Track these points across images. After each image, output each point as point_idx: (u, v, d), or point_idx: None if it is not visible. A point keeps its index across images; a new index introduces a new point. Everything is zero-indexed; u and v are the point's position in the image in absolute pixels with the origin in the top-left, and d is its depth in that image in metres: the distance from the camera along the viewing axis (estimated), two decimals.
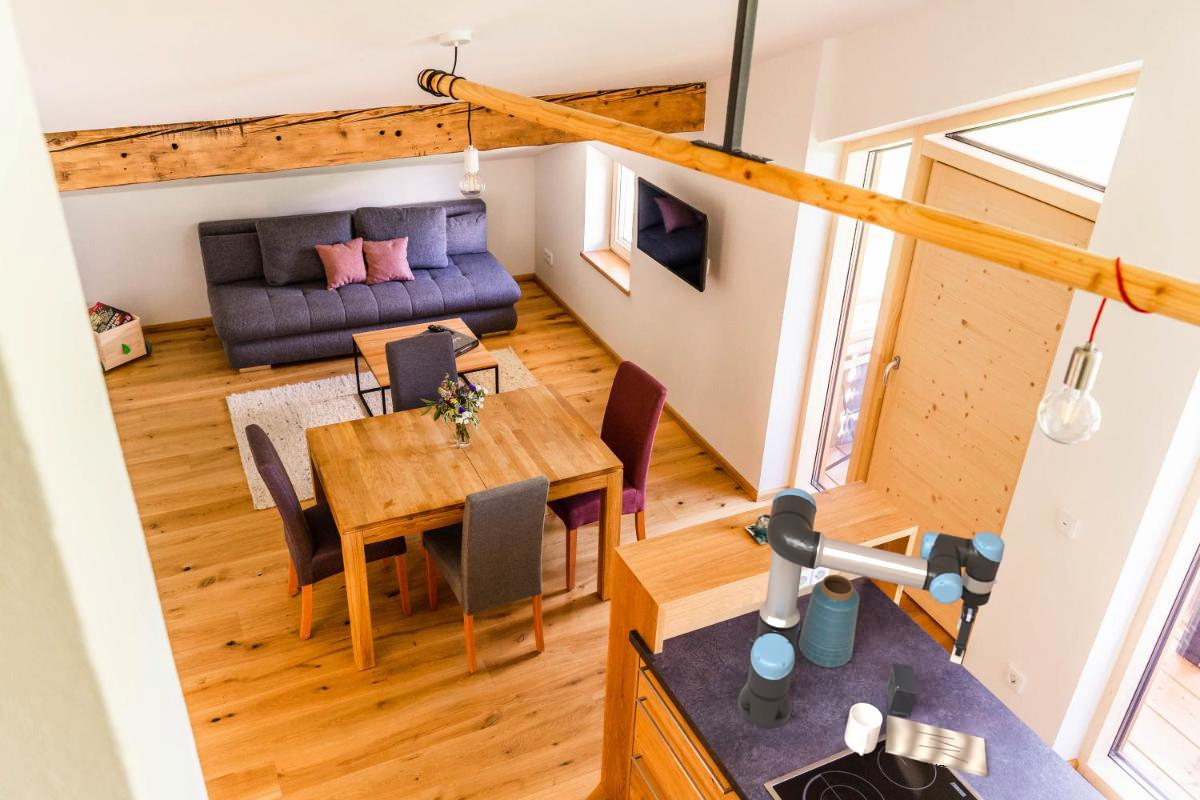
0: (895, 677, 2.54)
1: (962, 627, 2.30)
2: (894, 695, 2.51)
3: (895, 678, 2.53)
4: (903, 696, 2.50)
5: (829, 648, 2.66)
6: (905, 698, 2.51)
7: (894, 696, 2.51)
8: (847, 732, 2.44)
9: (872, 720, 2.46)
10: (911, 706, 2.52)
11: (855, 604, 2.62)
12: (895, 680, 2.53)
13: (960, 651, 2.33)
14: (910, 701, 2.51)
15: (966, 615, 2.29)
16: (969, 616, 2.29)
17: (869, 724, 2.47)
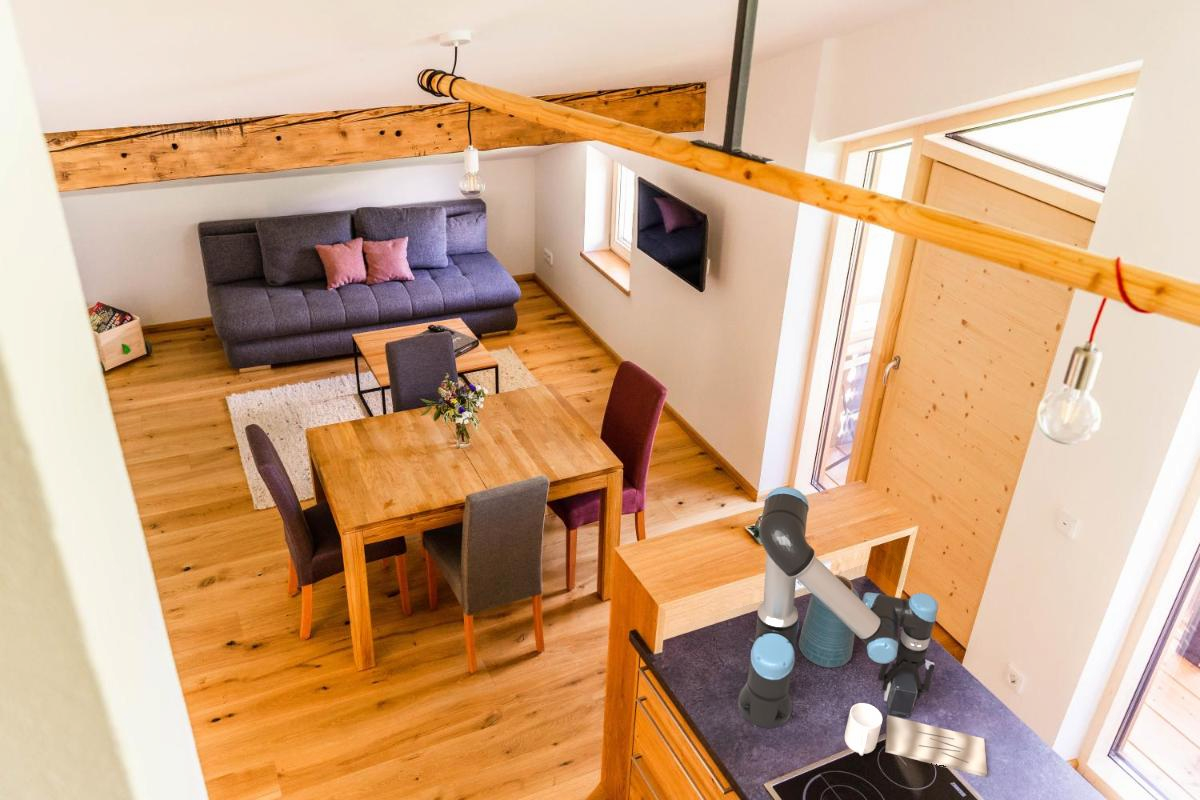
0: (895, 677, 2.54)
1: None
2: (894, 695, 2.51)
3: (895, 678, 2.53)
4: (902, 695, 2.50)
5: (829, 648, 2.66)
6: (905, 698, 2.51)
7: (894, 696, 2.51)
8: (847, 732, 2.44)
9: (872, 720, 2.46)
10: (911, 706, 2.52)
11: None
12: (895, 680, 2.53)
13: (883, 684, 2.57)
14: (910, 701, 2.51)
15: None
16: None
17: (869, 724, 2.47)
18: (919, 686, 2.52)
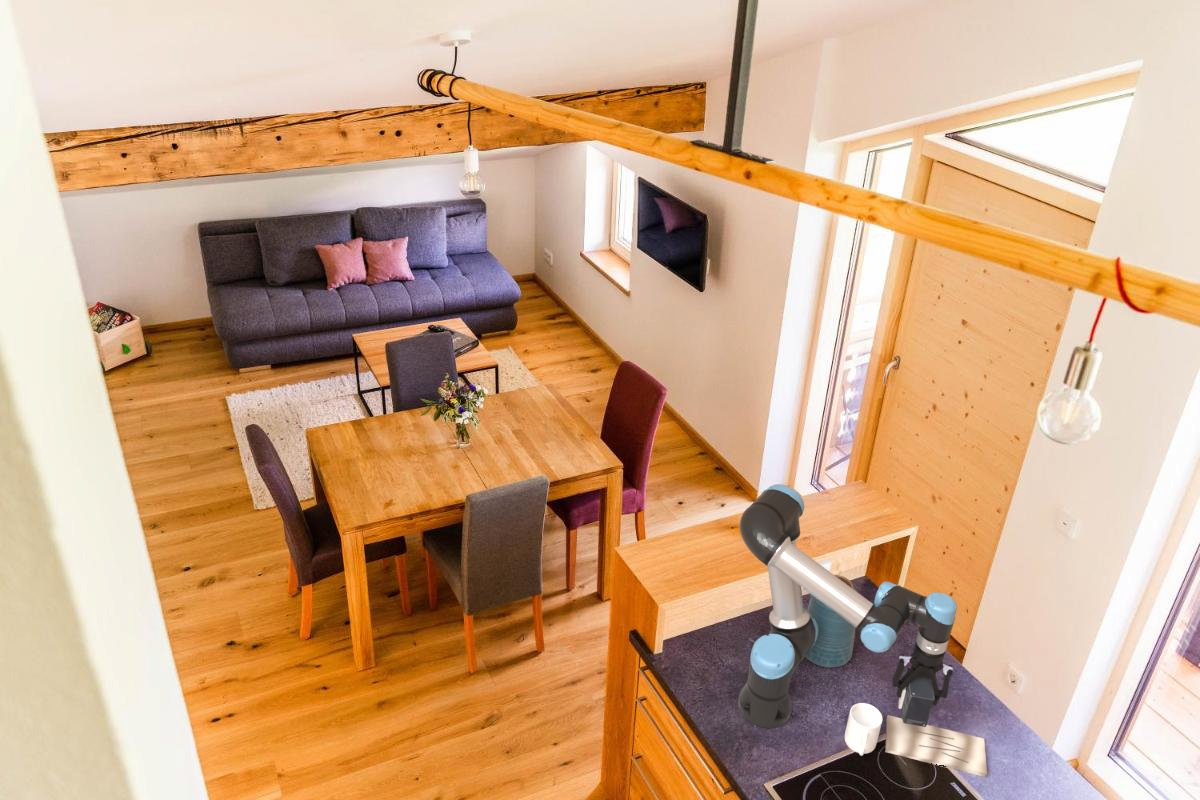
0: (910, 683, 2.37)
1: None
2: (909, 702, 2.34)
3: (910, 684, 2.36)
4: (919, 703, 2.33)
5: (829, 648, 2.66)
6: (921, 706, 2.34)
7: (909, 703, 2.34)
8: (847, 732, 2.44)
9: (872, 720, 2.46)
10: (928, 714, 2.35)
11: None
12: (910, 686, 2.36)
13: (897, 690, 2.40)
14: (927, 708, 2.34)
15: (899, 656, 2.35)
16: (899, 658, 2.35)
17: (869, 724, 2.47)
18: (936, 693, 2.35)
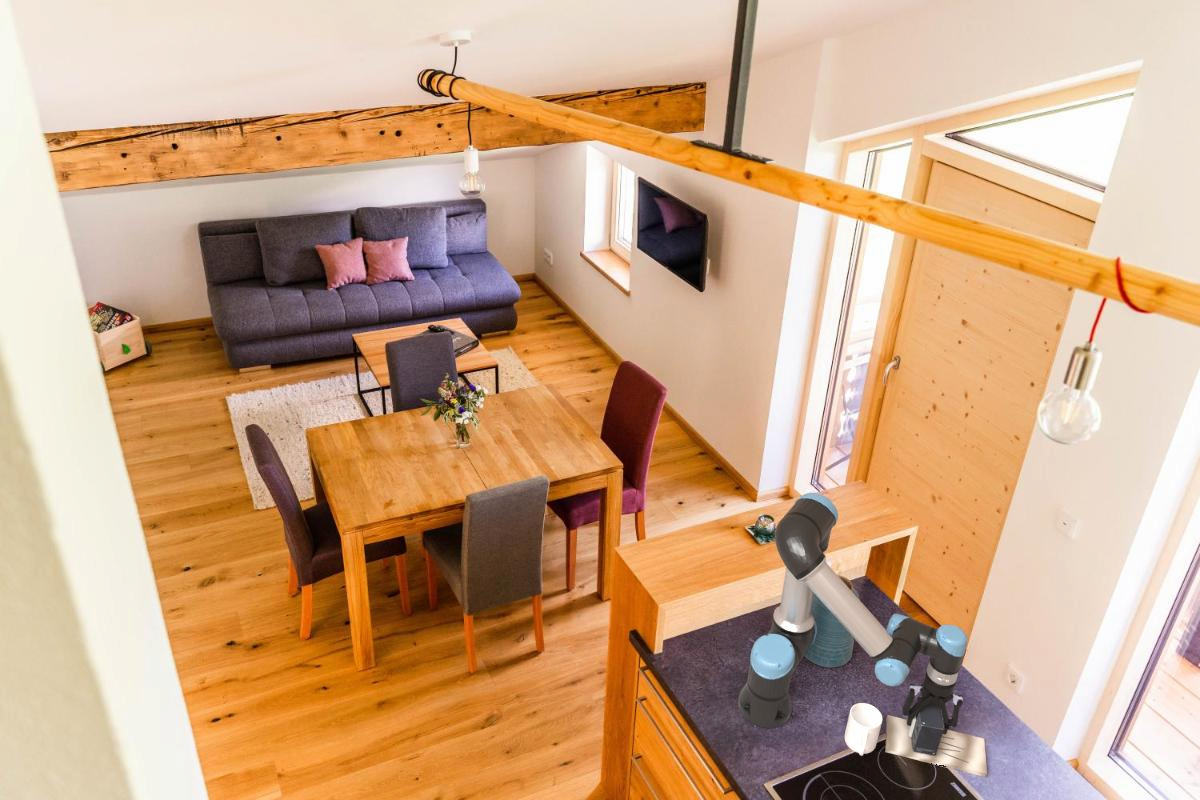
0: (920, 712, 2.40)
1: (908, 694, 2.41)
2: (920, 731, 2.38)
3: (920, 713, 2.40)
4: (929, 732, 2.37)
5: (829, 648, 2.66)
6: (931, 735, 2.37)
7: (920, 732, 2.38)
8: (847, 732, 2.44)
9: (872, 720, 2.46)
10: (938, 743, 2.38)
11: None
12: (920, 715, 2.39)
13: (907, 719, 2.43)
14: (937, 738, 2.37)
15: (910, 685, 2.39)
16: (910, 687, 2.38)
17: (869, 724, 2.47)
18: (946, 722, 2.39)
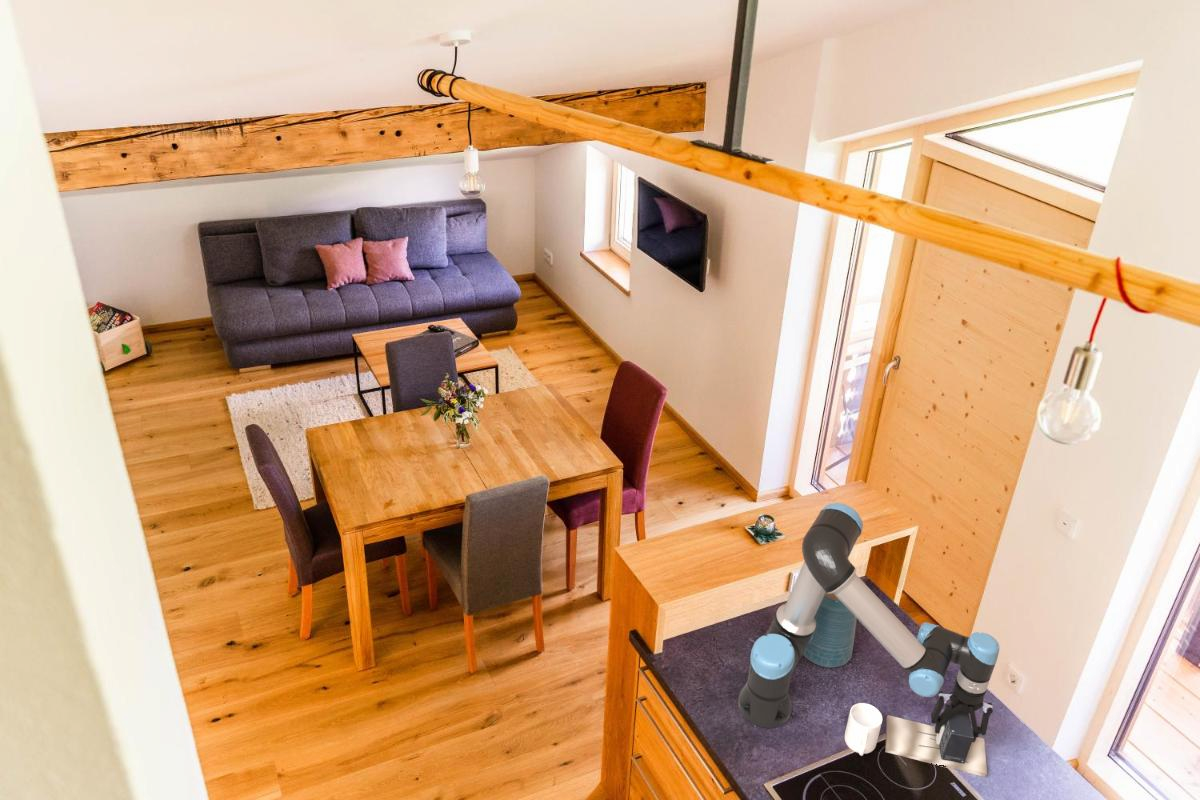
0: (949, 720, 2.39)
1: (937, 702, 2.39)
2: (949, 739, 2.36)
3: (949, 721, 2.38)
4: (958, 740, 2.35)
5: (829, 648, 2.66)
6: (960, 743, 2.36)
7: (949, 740, 2.36)
8: (847, 732, 2.44)
9: (872, 720, 2.46)
10: (967, 751, 2.37)
11: None
12: (949, 723, 2.38)
13: (936, 726, 2.42)
14: (966, 746, 2.36)
15: (939, 693, 2.37)
16: (939, 695, 2.37)
17: (869, 724, 2.47)
18: (975, 730, 2.37)
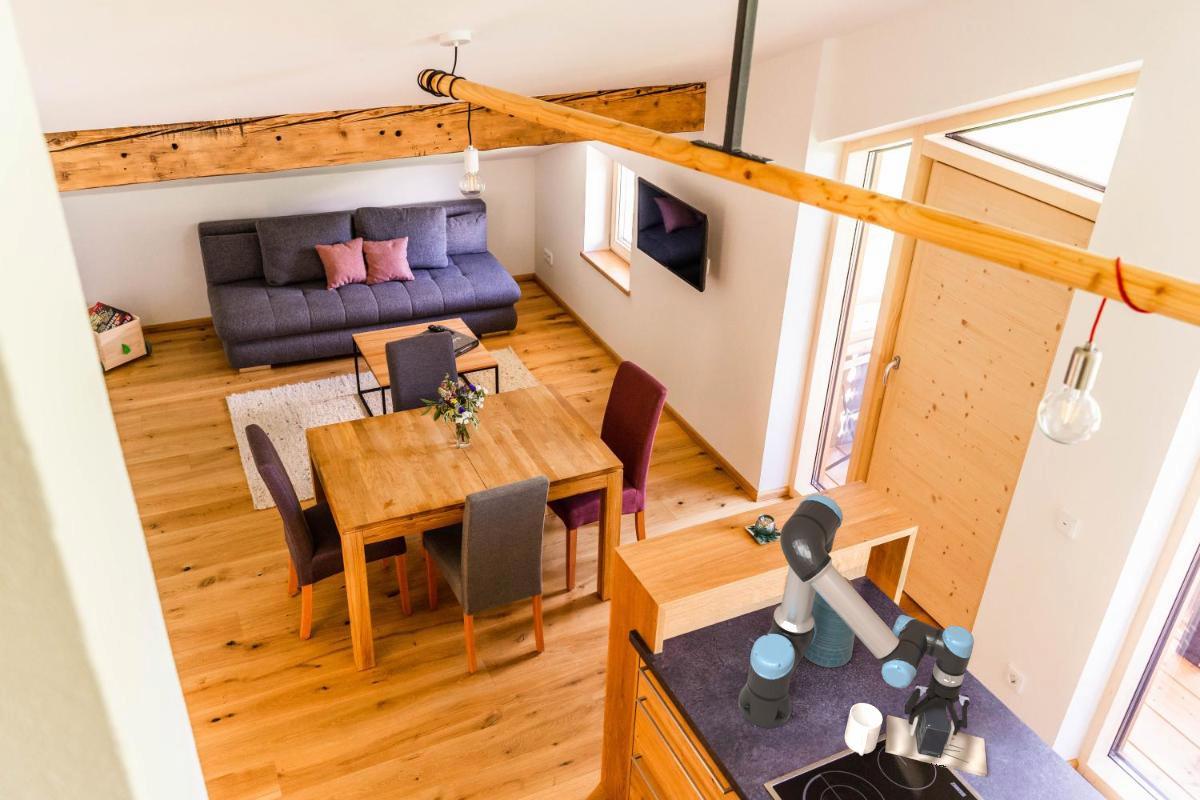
0: (926, 714, 2.40)
1: (912, 694, 2.40)
2: (925, 734, 2.38)
3: (926, 715, 2.40)
4: (934, 734, 2.37)
5: (829, 648, 2.66)
6: (936, 737, 2.37)
7: (925, 735, 2.38)
8: (847, 732, 2.44)
9: (872, 720, 2.46)
10: (943, 745, 2.38)
11: None
12: (926, 718, 2.39)
13: (909, 718, 2.43)
14: (942, 740, 2.37)
15: None
16: (915, 687, 2.38)
17: (869, 724, 2.47)
18: (956, 723, 2.38)
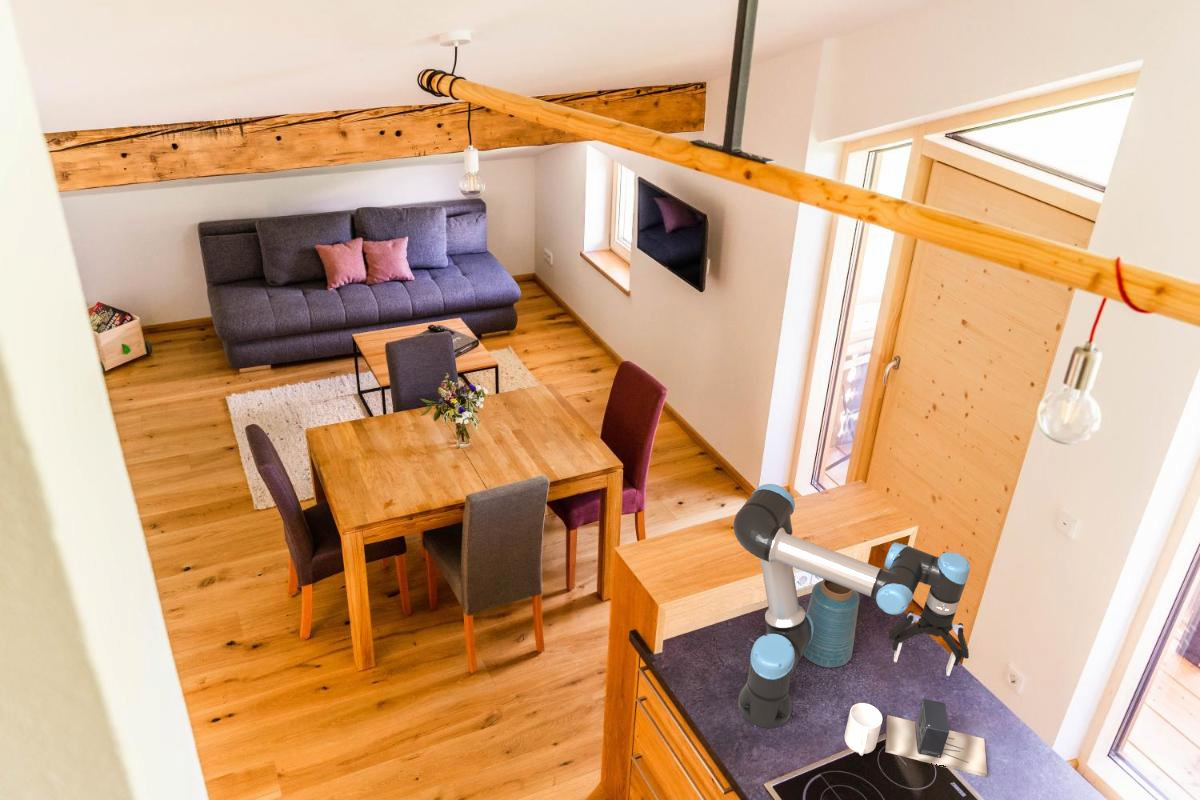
0: (926, 714, 2.40)
1: (902, 620, 2.34)
2: (925, 734, 2.38)
3: (926, 715, 2.40)
4: (934, 734, 2.37)
5: (829, 648, 2.66)
6: (936, 737, 2.37)
7: (925, 735, 2.38)
8: (847, 732, 2.44)
9: (872, 720, 2.46)
10: (943, 745, 2.38)
11: (855, 604, 2.62)
12: (926, 718, 2.39)
13: (893, 643, 2.37)
14: (942, 740, 2.37)
15: (909, 612, 2.32)
16: (909, 614, 2.31)
17: (869, 724, 2.47)
18: (956, 652, 2.31)
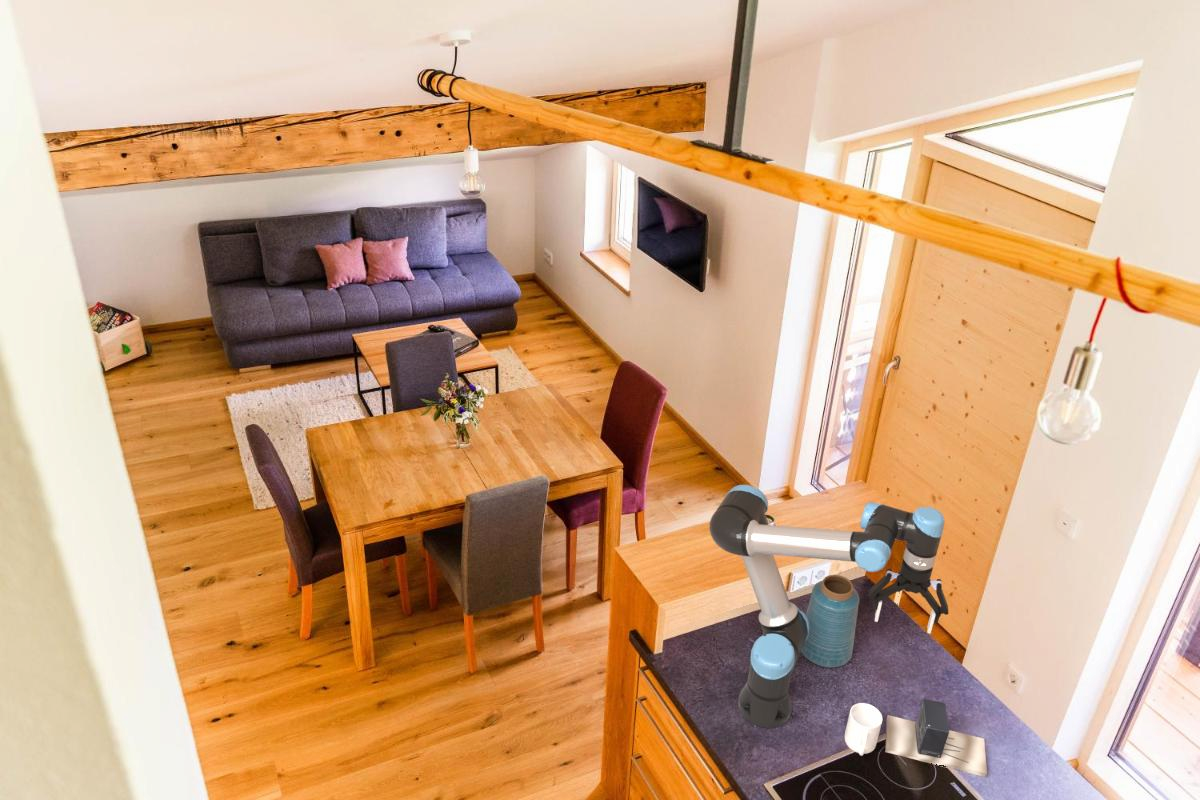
0: (926, 714, 2.40)
1: (881, 579, 2.34)
2: (925, 734, 2.38)
3: (926, 715, 2.40)
4: (934, 734, 2.37)
5: (829, 648, 2.66)
6: (936, 737, 2.37)
7: (925, 735, 2.38)
8: (847, 732, 2.44)
9: (872, 720, 2.46)
10: (943, 745, 2.38)
11: (855, 604, 2.62)
12: (926, 718, 2.39)
13: (873, 603, 2.37)
14: (942, 740, 2.37)
15: (887, 570, 2.32)
16: (887, 572, 2.32)
17: (869, 724, 2.47)
18: (936, 609, 2.31)
